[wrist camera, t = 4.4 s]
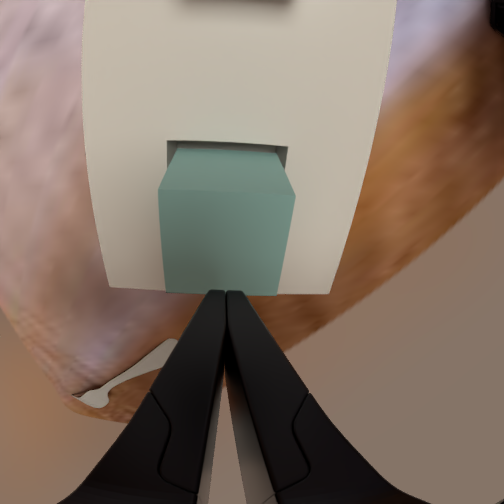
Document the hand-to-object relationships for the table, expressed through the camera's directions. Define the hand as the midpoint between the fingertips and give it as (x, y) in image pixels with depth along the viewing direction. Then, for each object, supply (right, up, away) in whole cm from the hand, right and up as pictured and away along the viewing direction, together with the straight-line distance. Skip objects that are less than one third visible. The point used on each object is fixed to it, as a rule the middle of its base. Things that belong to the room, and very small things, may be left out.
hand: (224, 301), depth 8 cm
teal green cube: (-1, +4, +5) cm, 6 cm away
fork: (-13, -11, +20) cm, 26 cm away
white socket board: (0, +10, +5) cm, 11 cm away
